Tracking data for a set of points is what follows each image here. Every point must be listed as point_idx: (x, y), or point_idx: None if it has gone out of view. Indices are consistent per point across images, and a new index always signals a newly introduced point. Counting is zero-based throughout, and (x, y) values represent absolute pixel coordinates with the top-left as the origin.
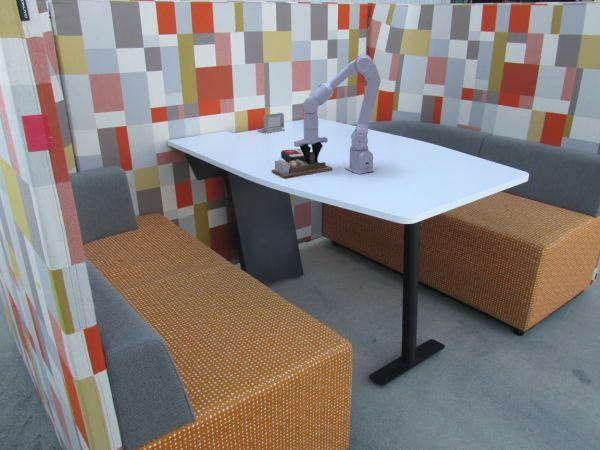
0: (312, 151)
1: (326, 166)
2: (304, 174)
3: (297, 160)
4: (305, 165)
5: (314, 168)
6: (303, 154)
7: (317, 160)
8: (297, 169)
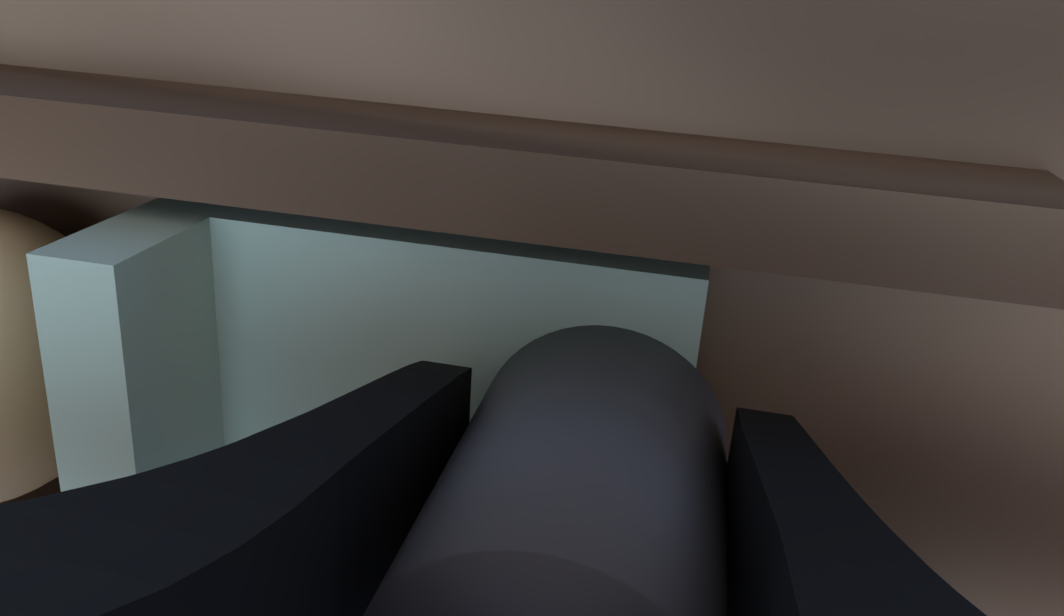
0: (787, 570)
1: (1016, 604)
2: None
3: (52, 366)
4: None
5: None
6: (224, 463)
7: (1060, 298)
8: None
